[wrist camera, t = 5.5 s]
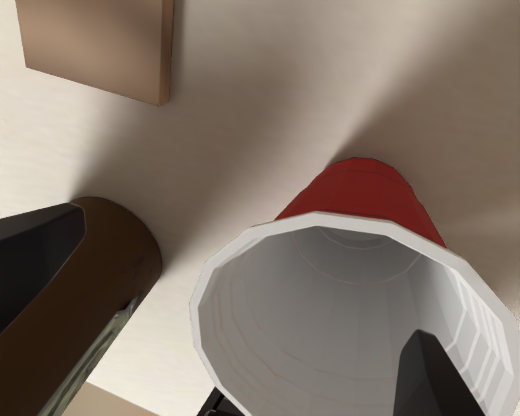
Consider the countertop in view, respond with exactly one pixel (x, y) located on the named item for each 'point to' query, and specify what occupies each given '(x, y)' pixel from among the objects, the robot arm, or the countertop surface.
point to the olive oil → (77, 312)
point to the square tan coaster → (102, 43)
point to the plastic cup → (347, 304)
